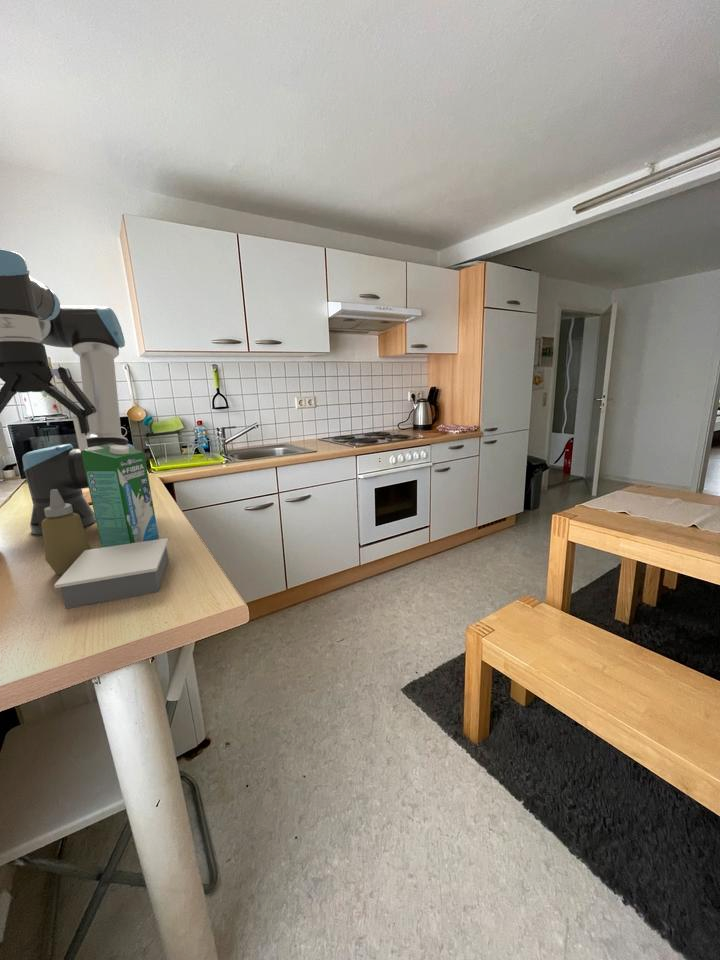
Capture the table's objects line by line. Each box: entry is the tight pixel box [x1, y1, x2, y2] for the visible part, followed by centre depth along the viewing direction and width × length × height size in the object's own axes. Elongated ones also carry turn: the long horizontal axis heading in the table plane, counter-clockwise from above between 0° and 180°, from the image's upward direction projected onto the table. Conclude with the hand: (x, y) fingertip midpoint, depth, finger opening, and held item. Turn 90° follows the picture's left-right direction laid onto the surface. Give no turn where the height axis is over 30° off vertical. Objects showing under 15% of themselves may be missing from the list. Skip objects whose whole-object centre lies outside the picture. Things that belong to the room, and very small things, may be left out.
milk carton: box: [81, 443, 160, 548], centre depth 95 cm, size 9×9×25 cm
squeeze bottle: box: [41, 489, 92, 576], centre depth 82 cm, size 8×8×18 cm
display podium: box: [54, 537, 170, 609], centre depth 77 cm, size 16×16×5 cm
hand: (44, 452), depth 78 cm, fingers open, 13 cm apart
